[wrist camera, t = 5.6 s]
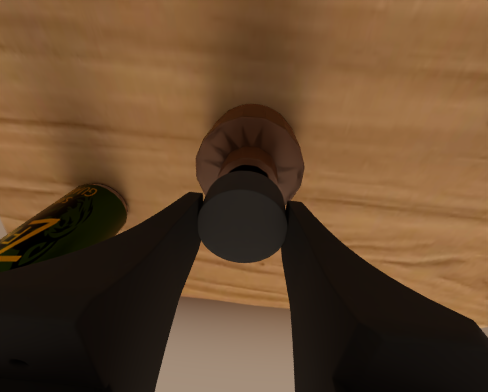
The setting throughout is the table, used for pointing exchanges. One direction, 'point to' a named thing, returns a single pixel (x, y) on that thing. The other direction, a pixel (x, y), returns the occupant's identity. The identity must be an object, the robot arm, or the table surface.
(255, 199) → the cylinder
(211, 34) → the table surface
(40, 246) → the beer can
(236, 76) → the table surface
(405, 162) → the table surface
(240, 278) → the table surface
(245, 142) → the amber bottle
